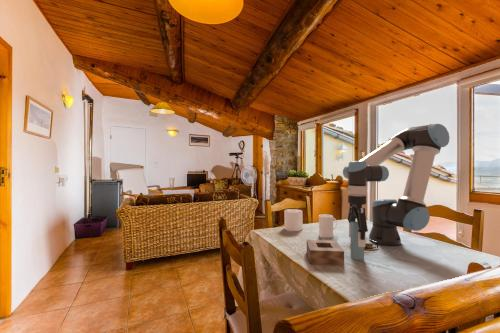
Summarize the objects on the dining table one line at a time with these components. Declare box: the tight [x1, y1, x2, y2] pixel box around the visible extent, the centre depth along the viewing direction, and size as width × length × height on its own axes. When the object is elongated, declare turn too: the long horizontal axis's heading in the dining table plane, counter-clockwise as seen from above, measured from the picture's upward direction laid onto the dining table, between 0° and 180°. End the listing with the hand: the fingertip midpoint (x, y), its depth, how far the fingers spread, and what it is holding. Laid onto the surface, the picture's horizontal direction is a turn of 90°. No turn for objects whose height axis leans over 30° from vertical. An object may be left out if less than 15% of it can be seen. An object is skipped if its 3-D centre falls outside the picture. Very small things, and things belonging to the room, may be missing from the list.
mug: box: [318, 213, 337, 239], centre depth 141 cm, size 12×8×12 cm
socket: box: [306, 239, 345, 266], centre depth 108 cm, size 14×14×6 cm
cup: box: [283, 208, 304, 232], centre depth 156 cm, size 12×12×12 cm
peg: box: [350, 221, 365, 261], centre depth 108 cm, size 4×4×16 cm
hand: (356, 241), depth 108 cm, fingers open, 13 cm apart
